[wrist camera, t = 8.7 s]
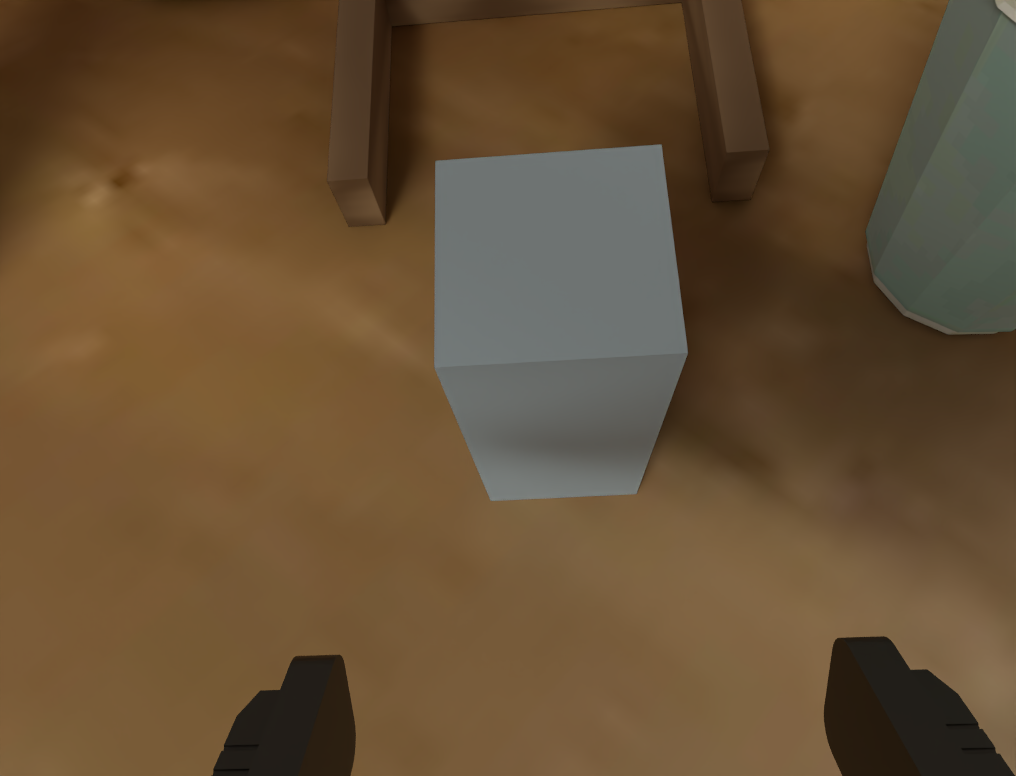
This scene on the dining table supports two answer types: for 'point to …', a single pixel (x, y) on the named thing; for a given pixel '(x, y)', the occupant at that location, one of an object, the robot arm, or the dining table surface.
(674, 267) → the slate block
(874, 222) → the disposable coffee cup
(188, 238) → the dining table surface
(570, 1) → the walnut bay
